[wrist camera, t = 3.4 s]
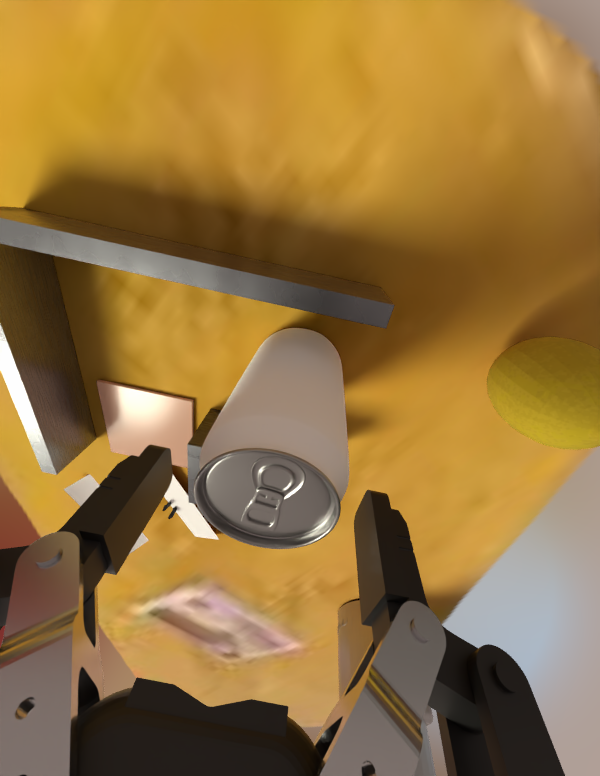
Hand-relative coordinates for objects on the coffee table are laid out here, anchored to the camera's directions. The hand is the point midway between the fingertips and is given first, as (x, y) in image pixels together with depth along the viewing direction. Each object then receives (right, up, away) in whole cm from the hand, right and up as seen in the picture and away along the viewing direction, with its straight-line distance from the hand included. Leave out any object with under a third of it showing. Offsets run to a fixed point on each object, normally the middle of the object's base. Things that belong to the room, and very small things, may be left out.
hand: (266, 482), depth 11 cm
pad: (-12, 0, +14) cm, 19 cm away
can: (+1, +5, +10) cm, 11 cm away
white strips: (-15, -9, +21) cm, 27 cm away
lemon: (+16, +6, +8) cm, 18 cm away
